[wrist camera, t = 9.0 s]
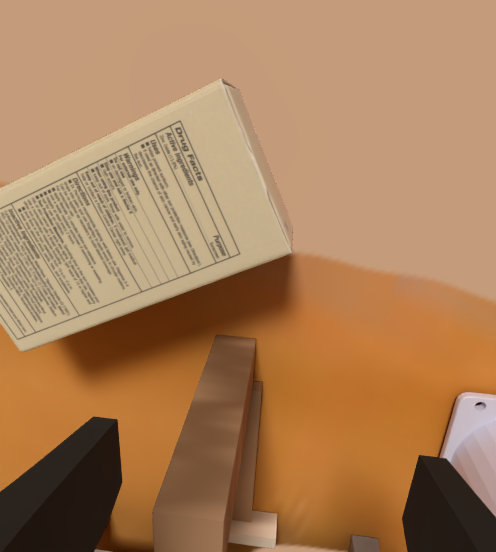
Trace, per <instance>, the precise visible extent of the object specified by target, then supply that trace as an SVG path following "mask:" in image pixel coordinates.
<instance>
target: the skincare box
mask: <svg viewBox="0 0 496 552" xmlns="http://www.w3.org/2000/svg"><path fill="white" fill-rule="evenodd" d="M292 227H293V224H292V221H291V219H290V217H289V215H288V212H287V210H286V207H285V204H284V202H283V200H282V197H281V195H280V192H279V190H278V187H277V184H276V182H275V179H274V177H273V175H272V172H271V169H270V167H269V164H268V162H267V159H266V157H265V154H264V152H263V149H262V147H261V144H260V142H259V139H258V137H257V134H256V132H255V129H254V126H253V124H252V122H251V119H250V116H249V114H248V111H247V109H246V106H245V103H244V101H243V98H242V95H241V92H240V90H239V89H238V88H236V87H234V86H233V85H232V84H230V83H228V82H227V81H225V80H224V79H222V78H220V79H218V80H216V81H214V82H212V83H210V84H208V85H206V86H204V87H202V88H200V89H198V90H196V91H194V92H192V93H190V94H188V95H186V96H184V97H182V98H180V99H178V100H176V101H174V102H173V103H170V104H168V105H166V106H164V107H162V108H160V109H158V110H156V111H154V112H152V113H150V114H148V115H146V116H144V117H142V118H140V119H138V120H136V121H134V122H132V123H130V124H128V125H126V126H124V127H122V128H120V129H118V130H116V131H114V132H112V133H110V134H108V135H106V136H104V137H102V138H100V139H98V140H96V141H94V142H92V143H90V144H88V145H86V146H84V147H82V148H80V149H78V150H76V151H73V152H71V153H70V154H67V155H65V156H63V157H62V158H60V159H58V160H55V161H54V162H51V163H50V164H47V165H46V166H44V167H42V168H40V169H38V170H36V171H34V172H32V173H30V174H28V175H26V176H24V177H22V178H19V179H17V180H15V181H13V182H11V183H9V184H7V185H5V186H3V187H1V188H0V323H1V325H2V326H3V328H4V329H5V331H6V332H7V333H8V335H9V336H10V338H11V339H12V340H13V342H14V343H15V345H16V346H17V347H18V349H19V350H20V351H21V352H26V351H29V350H32V349H34V348H37V347H40V346H42V345H45V344H48V343H51V342H53V341H56V340H59V339H61V338H64V337H66V336H69V335H72V334H75V333H78V332H80V331H83V330H86V329H89V328H91V327H94V326H97V325H99V324H102V323H104V322H107V321H110V320H113V319H115V318H118V317H121V316H124V315H126V314H129V313H132V312H135V311H137V310H140V309H143V308H145V307H148V306H151V305H154V304H156V303H159V302H162V301H164V300H167V299H170V298H172V297H175V296H178V295H180V294H183V293H186V292H188V291H191V290H194V289H196V288H199V287H202V286H205V285H207V284H210V283H213V282H215V281H218V280H221V279H223V278H226V277H229V276H231V275H234V274H237V273H240V272H242V271H245V270H248V269H250V268H253V267H256V266H259V265H261V264H264V263H267V262H270V261H273V260H275V259H278V258H281V257H283V256H286V255H289V254H291V253H292V234H293V229H292Z"/></svg>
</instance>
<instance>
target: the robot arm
mask: <svg viewBox="0 0 496 552" xmlns="http://www.w3.org/2000/svg"><path fill="white" fill-rule="evenodd" d="M478 402H482V404H480V405H478V406H475V405H476V403H478ZM121 484H122V472H121V459H120V446H119V433H118V420H117V419H109V418H100V417H93V418H91V419H90V420H89V421H88V422H86V423H85V424H84V425H83V426H81V427H80V428H79V429H78V430H76V431H75V432H74V433H73V434H72V435H70V436H69V437H68V438H67V439H66V440H64V441H63V442H62V443H61V444H60V445H58V446H57V447H56V448H55V449H54V450H52V451H51V452H50V453H49V454H47V455H46V456H45V457H44V458H43V459H41V460H40V461H39V462H38V463H36V464H35V465H34V466H33V467H31V468H30V469H29V470H28V471H26V472H25V473H24V474H23V475H21V476H20V477H19V478H18V479H16V480H15V481H14V482H12V483H11V484H10V485H9V486H7V487H6V488H5V489H3V490H2V491H1V492H0V552H94V551H95V549H96V547H97V545H98V543H99V541H100V539H101V537H102V535H103V532H104V530H105V528H106V526H107V523H108V521H109V518H110V515H111V513H112V510H113V507H114V505H115V502H116V499H117V496H118V493H119V490H120V487H121ZM402 521H403V527H404V533H405V539H406V545H407V551H408V552H496V395H491V394H481V393H472V392H465V393H462V394H460V395H459V396H458V397H457V399H456V402H455V406H454V409H453V413H452V416H451V419H450V423H449V426H448V430H447V433H446V437H445V440H444V444H443V447H442V450H441V454H440V457H431V456H422V455H419V457H418V461H417V465H416V469H415V472H414V476H413V480H412V483H411V487H410V491H409V495H408V498H407V502H406V506H405V510H404V513H403V517H402Z"/></svg>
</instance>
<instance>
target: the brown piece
mask: <svg viewBox="0 0 496 552" xmlns="http://www.w3.org/2000/svg"><path fill="white" fill-rule="evenodd" d="M255 346H256V339H253V338H243V337H234V336H224V335H216V337H215V340H214V342H213V345H212V348H211V351H210V354H209V356H208V359H207V362H206V365H205V367H204V370H203V373H202V376H201V378H200V381H199V384H198V387H197V389H196V392H195V395H194V398H193V401H192V403H191V406H190V409H189V412H188V414H187V417H186V420H185V423H184V425H183V428H182V431H181V434H180V437H179V439H178V442H177V445H176V448H175V450H174V453H173V456H172V459H171V461H170V464H169V467H168V470H167V472H166V475H165V478H164V481H163V484H162V486H161V489H160V492H159V495H158V497H157V500H156V503H155V506H154V508H153V511H152V514H153V539H154V552H227V547H228V542H229V543H236V544H243V545H250V546H257V547H264V548H271V549H275V544H276V529H277V514H275V513H268V512H261V511H253V510H252V507H253V494H254V482H255V470H256V457H257V445H258V433H259V421H260V408H261V396H262V384H263V382H258V381H253V374H254V360H255Z"/></svg>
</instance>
